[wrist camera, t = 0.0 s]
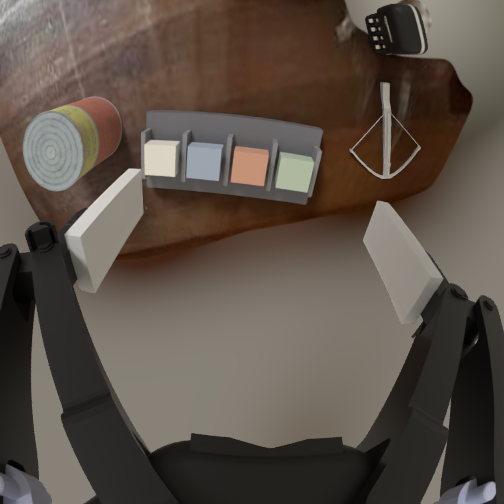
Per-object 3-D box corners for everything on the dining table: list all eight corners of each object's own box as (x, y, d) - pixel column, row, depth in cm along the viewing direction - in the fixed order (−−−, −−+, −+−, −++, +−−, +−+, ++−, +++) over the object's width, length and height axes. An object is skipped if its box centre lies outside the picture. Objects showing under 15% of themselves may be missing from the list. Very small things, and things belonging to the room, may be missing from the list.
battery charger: (357, 13, 27) (390, -1, 18) (380, 13, 26) (418, 2, 17) (368, 56, 31) (404, 54, 22) (391, 55, 30) (431, 55, 21)
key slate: (191, 142, 36) (187, 146, 34) (223, 144, 36) (221, 149, 34) (190, 171, 39) (186, 177, 37) (220, 174, 39) (218, 180, 37)
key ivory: (150, 139, 36) (144, 144, 34) (180, 141, 36) (175, 145, 34) (150, 168, 38) (144, 174, 36) (179, 170, 39) (174, 176, 37)
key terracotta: (235, 145, 37) (234, 150, 35) (268, 150, 37) (268, 155, 35) (232, 175, 39) (230, 182, 37) (263, 179, 39) (263, 186, 37)
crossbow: (413, 172, 43) (419, 178, 41) (348, 177, 44) (351, 183, 42) (417, 84, 33) (423, 86, 31) (343, 81, 34) (347, 83, 32)
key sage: (279, 151, 37) (281, 157, 35) (311, 156, 37) (314, 162, 35) (274, 180, 40) (275, 187, 38) (304, 185, 40) (307, 192, 38)
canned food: (73, 92, 33) (26, 106, 24) (129, 103, 36) (89, 118, 26) (63, 153, 40) (22, 181, 30) (115, 168, 42) (79, 200, 32)
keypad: (151, 110, 37) (140, 115, 33) (320, 127, 38) (327, 134, 34) (150, 182, 44) (141, 194, 40) (304, 199, 45) (308, 212, 41)
